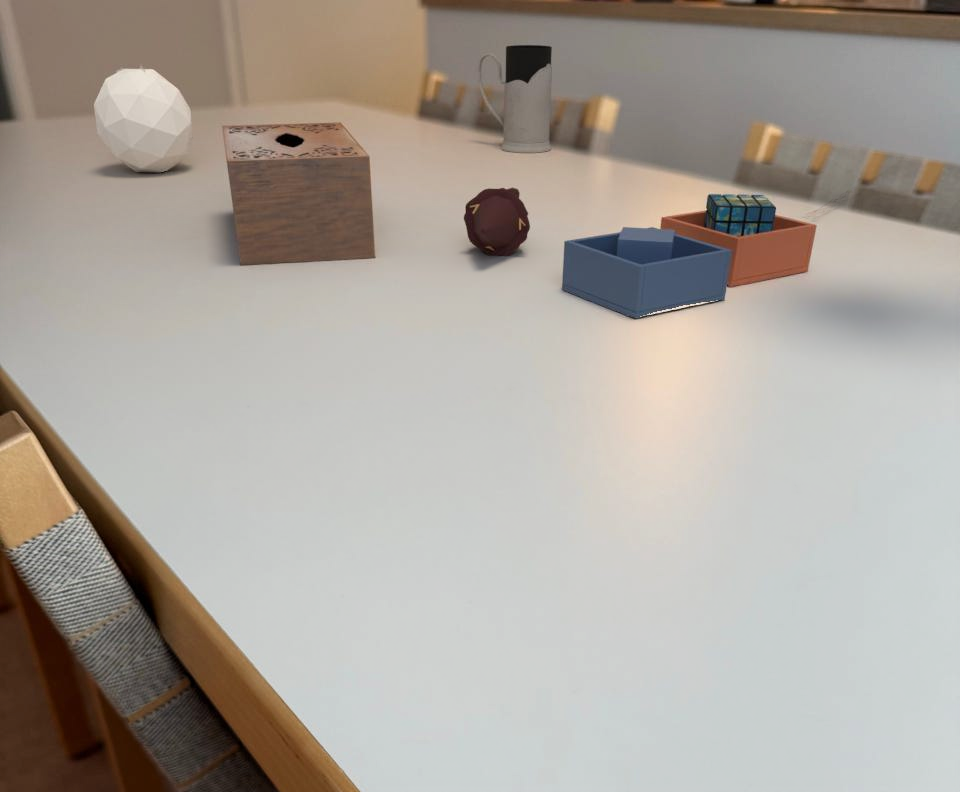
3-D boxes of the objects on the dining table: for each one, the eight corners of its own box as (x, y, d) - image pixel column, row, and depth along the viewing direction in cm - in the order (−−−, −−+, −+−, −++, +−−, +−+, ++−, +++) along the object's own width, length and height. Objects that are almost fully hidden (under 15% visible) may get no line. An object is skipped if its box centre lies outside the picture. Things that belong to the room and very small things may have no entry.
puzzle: (699, 253, 104) (707, 193, 101) (755, 254, 104) (765, 194, 101) (708, 268, 99) (716, 205, 96) (766, 268, 99) (776, 206, 96)
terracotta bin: (731, 249, 108) (737, 205, 106) (807, 271, 101) (817, 224, 98) (656, 262, 103) (661, 217, 101) (730, 287, 96) (738, 238, 93)
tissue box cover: (233, 213, 122) (221, 125, 116) (346, 208, 125) (340, 122, 119) (240, 265, 102) (226, 161, 96) (375, 257, 105) (369, 156, 99)
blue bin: (647, 273, 100) (652, 226, 97) (724, 300, 92) (732, 250, 89) (561, 289, 95) (564, 240, 92) (635, 319, 87) (640, 266, 84)
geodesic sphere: (59, 126, 144) (77, 39, 133) (136, 116, 153) (159, 34, 142) (123, 201, 143) (146, 120, 133) (197, 186, 153) (224, 109, 142)
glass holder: (535, 154, 160) (538, 49, 152) (464, 146, 167) (464, 45, 158) (560, 147, 166) (565, 46, 158) (491, 140, 173) (492, 42, 164)
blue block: (618, 280, 95) (623, 226, 93) (669, 283, 95) (675, 229, 92) (613, 294, 91) (617, 238, 89) (666, 297, 91) (672, 241, 88)
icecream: (527, 207, 96) (549, 192, 109) (458, 183, 96) (488, 171, 109) (507, 276, 100) (531, 254, 112) (441, 253, 100) (472, 234, 113)
